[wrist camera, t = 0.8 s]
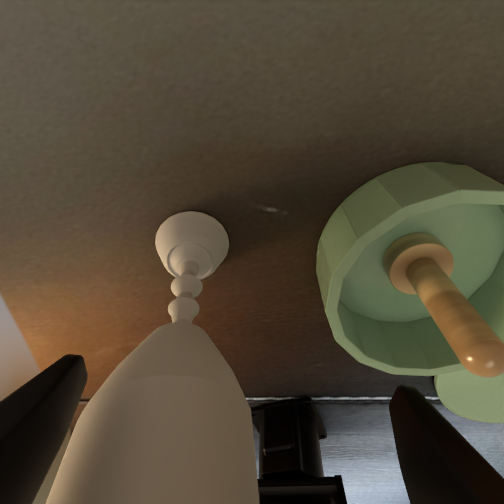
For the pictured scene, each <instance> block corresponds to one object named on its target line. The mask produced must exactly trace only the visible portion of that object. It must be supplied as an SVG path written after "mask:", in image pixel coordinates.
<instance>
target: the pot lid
mask: <svg viewBox="0 0 504 504" xmlns="http://www.w3.org/2000/svg"><path fill="white" fill-rule="evenodd" d="M434 386H435V390H436V393H437V395H438V397H439V399H440V401H441V402H442V403H443V405H444V406H445V407H446V408H448V409H449V410H450V411H451V412H453V413H455V414H456V415H459V416H461V417H463V418H466V419H470V420H473V421H479V422H487V423H504V373H502V374H501V375H499V376H496V377H491V378H486V377H480V376H477V375H474V374H472V373H471V372H469V371H468V370H467V369H465V370H460V371H455V372H450V373H444V374H439V375H435V377H434Z"/></svg>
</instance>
